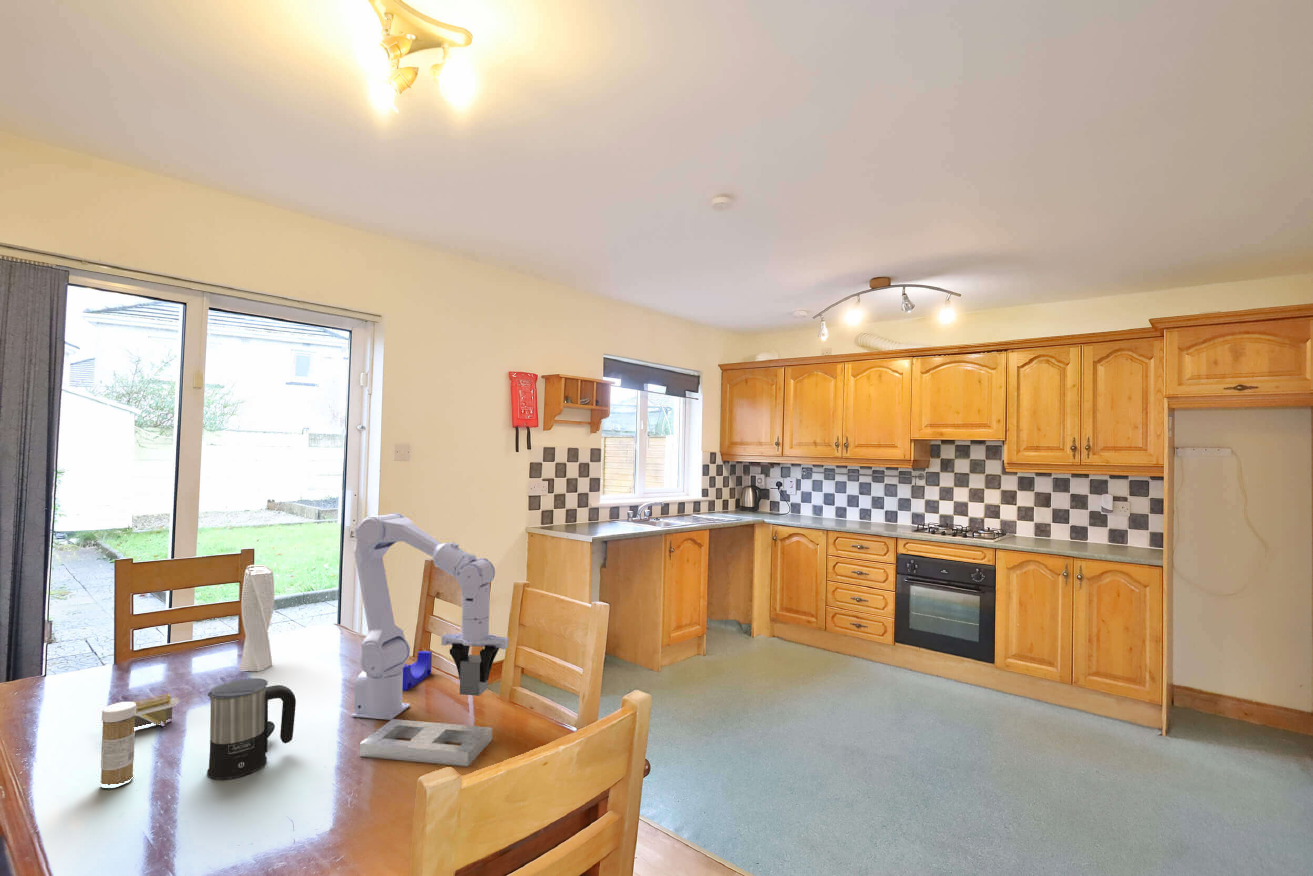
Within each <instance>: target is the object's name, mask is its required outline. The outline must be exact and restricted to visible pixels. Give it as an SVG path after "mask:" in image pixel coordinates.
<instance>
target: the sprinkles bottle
mask: <svg viewBox="0 0 1313 876" xmlns="http://www.w3.org/2000/svg"><path fill="white" fill-rule="evenodd" d="M134 702H135V701H122V702H121V701H120V702H117V703H113V704H110V705H108V706H105V707H104V708H103V709H102V711H101V721H102V736H101V739H102V740H101V751H100V752H101V753H100V769H101V772H100V773H101V774H100V783H102V784H108V785H110V784H119V783H124V782H125V781H128V780H130V779H131V778H132V777H133V776H134V761H135V741H136V740H135V736H136V735H135V734H136V731H134V727H135V725H134V722H135V716H136V715H135V714H136V707H137V702H136V703H134ZM133 778H134V777H133Z"/></svg>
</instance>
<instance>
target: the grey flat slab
mask: <svg viewBox="0 0 1313 876" xmlns="http://www.w3.org/2000/svg"><path fill="white" fill-rule="evenodd" d="M397 738H398V739H397ZM400 739H401V740H400ZM402 739H410V740H402ZM492 740H493V727H490V726H489V727H488V726H478V725H468V724H467V725H464V724H455V723H454V724H453V723H442V722H430V721H420V720H408V719H407V720H406V719H398V718H397V719H395V718H393V719H391V720H389V721H388V722H386V723H385V724H384V725H383V726H381V727H379V728H378V729H377V730H376V731H373V733H371V734H370V735H368V736H367V737H366V738H365V739H363V740H362V741H361V742H360V743H359V757H364V758H375V759H385V760H394V761H395V760H397V761H405V762H417V763H427V764H435V763H436V764H437V765H447V766H448V765H449V766H458V767H469V766H470V765H471V764H472V763H473V762H474V760H475V759H476V758H477V757H478V756H479V755H480V754H481V753H482V752H483V751H484V750H485V748H486V747H487V746H488V745H489V744H490V743H491V742H492ZM447 743H454V744H447ZM455 744H456V745H455ZM457 744H460V745H457Z"/></svg>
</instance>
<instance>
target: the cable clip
mask: <svg viewBox="0 0 1313 876" xmlns="http://www.w3.org/2000/svg"><path fill="white" fill-rule="evenodd" d="M432 656H433V653H432V651H427V650H420V651H418V652H417V659H416V661H415V662H413V663H412V664H411V663H410V664H406V663H404V668H403V685H402V692H407V691H409V690H410V689H411V688H414V686H416V685H417V684H419V683H421V682H422V681H423V680H425V679H426V678H427V677H429V676H431V675H432V664H433V663H432Z"/></svg>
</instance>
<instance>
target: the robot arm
mask: <svg viewBox="0 0 1313 876" xmlns="http://www.w3.org/2000/svg"><path fill="white" fill-rule="evenodd" d="M354 532H355V537H356V545H355V551H354V557H355V558H354V559H355V563H356V564H355V565H356V569H357V574H358V575H357V576H358V580H359V585H360V591H361V597H362V602H363V607H364V613H365V619H366V625H367V631H368V632H367V634H366V635H365V638H364V639H363V641H362V643H361V655H360V666H361V669H362V672H360V674H359V675H358V676H357V677H356V681H355V685H354V698H353V699H354V701H353V702H354V704H353V705H354V708H353V713H352V714H351V717H353V718H367V719H376V720H377V719H378V720H389V721H390V720H392V719H395V717H397V716H398V715H400V714H401V713H402V712H403V711H405V710H407V708H409V707H411V703H407V702H406V703H405V702H403V691H402V685H403V668H404V664H405V663H406V661H408V659H409V657H410V656H411V647H410V644H409V641H408V640H407V639H406V636H405V634H404V630H403V629H402V628H401V627H398V626H397V625H396V624H395V619H394V612H393V609H392V608H393V607H392V602H391V598H390V590H389V586H388V580H387V575H386V569H385V564H384V558H383V557H384V555H385V554H386V553H387V552H388V550H389V549H390V547H392V546H393V545H395V544H396V543H398V542H399V543H400V542H404V543H405V544H407V545H409V546H411V547H413V548H415V549H417V550H419V551H421V552H423V554H426V555H428V556H430V557H432V563H433V564H434V566H436V567H438V568H439V569H441V570H442V571H444V572H446V573H447V574H449V575H451V576H452V577H454V578H456V579H457V583H458V585H459V587H460V589H461V598H462V599H461V632H460V633H445V634H443V635H442V636H441V641H440V642H441V643H440V644H441V646H447V645H450V646H451V648H450V649H449V654H450V656H451V657H452V660H453V662H454V664H455V666H456V670H457V673H458V677H459V680H460V661H461V660H463V659H464V658H466V657H467V656H468V655H469V652H470V648H471V647H480V648H483V649H481V650H480V651H479V655H480V657H481V664H482V673H481V679H482V682H486V681H487V680H488V681H489V679H490V672H491V670H492V666H493V663H494V661H495V659H496V657H497V654H498V652H499V650H506V649H508V648H509V646H510V645H509V639H510V638H509V637H505V636H498V635H493V634H490V605H491V604H490V601H491V600H490V595H491V594H490V592H491V591H490V590H491V589H490V588H491V584H490V583H492V581H493V580H494V579H495V575H496V570H495V566H494V564H493V563H492V562H491V561H490V560H488V559H487V558H485V557H481V558H477V555H475V554H474V553H471V554H470V553H468V552H467V551H465V550H463V549H461V548H460V547H459V546H460V544H459V543H457V542H456V541H455V542H450V541H449V542H444V543H441V542H440V541H439V540H437V539H436V538H434V536H431V535H430V534H429V533H427V531H424V530H423V529H422V528H420V527H419V526H417V525H416V524H414V523H413V521H412V520H411V519H410V518H409V517H406V516H404V515H403V514H401V513H399V512H392V513H389V514H388V513H387V514H382V515H375V516H374V515H372V516H371V515H370V516H367V517H364V518H363V519H362V520H361V521H360V523H359V524H358V525H357V526H356V528H355V530H354Z"/></svg>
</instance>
